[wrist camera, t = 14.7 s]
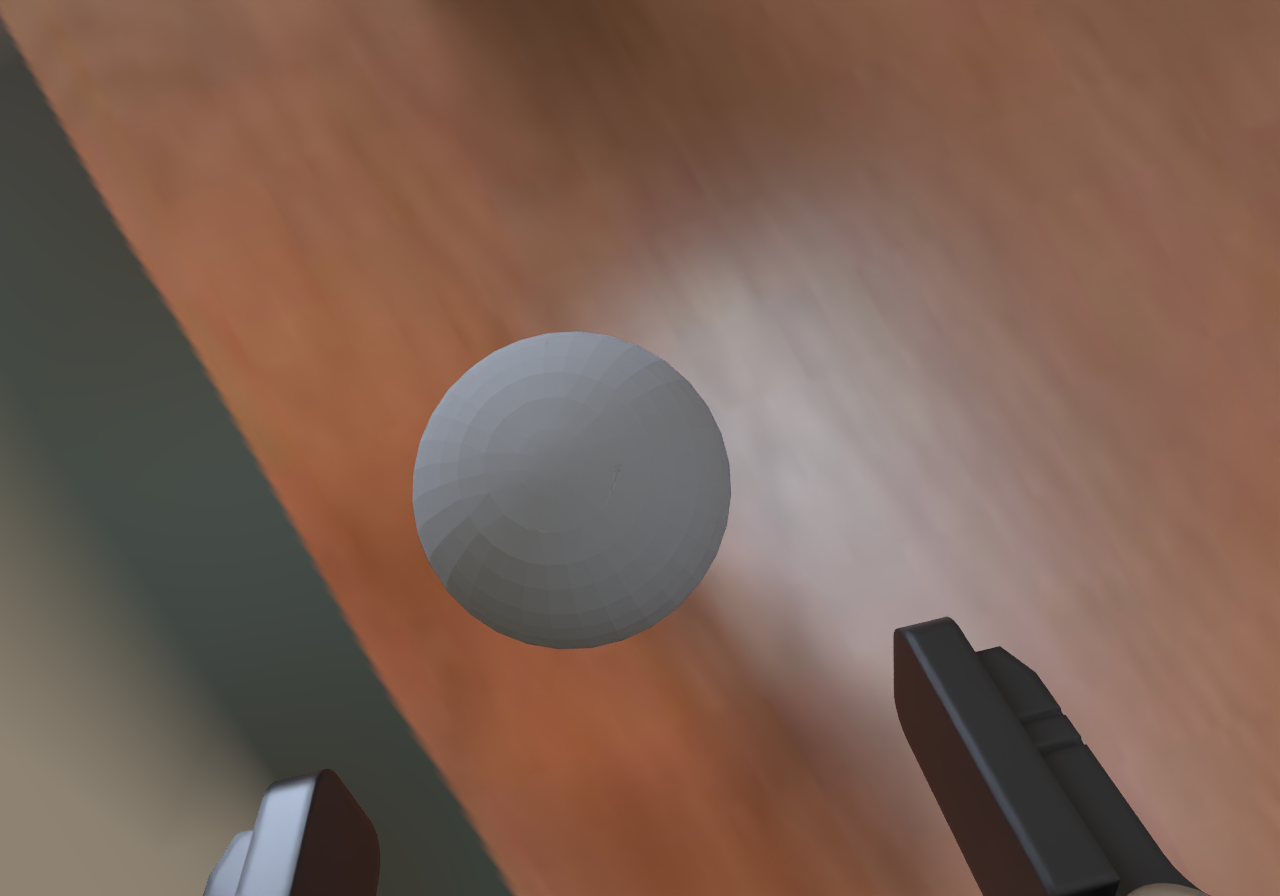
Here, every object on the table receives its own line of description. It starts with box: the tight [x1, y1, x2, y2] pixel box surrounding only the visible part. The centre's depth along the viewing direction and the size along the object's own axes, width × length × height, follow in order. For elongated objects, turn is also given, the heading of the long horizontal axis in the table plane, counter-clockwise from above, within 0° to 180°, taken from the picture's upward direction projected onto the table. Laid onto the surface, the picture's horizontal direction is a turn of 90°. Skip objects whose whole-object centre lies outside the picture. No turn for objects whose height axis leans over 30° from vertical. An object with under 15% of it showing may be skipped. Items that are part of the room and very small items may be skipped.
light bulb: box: [413, 332, 731, 649], centre depth 17 cm, size 6×6×10 cm
